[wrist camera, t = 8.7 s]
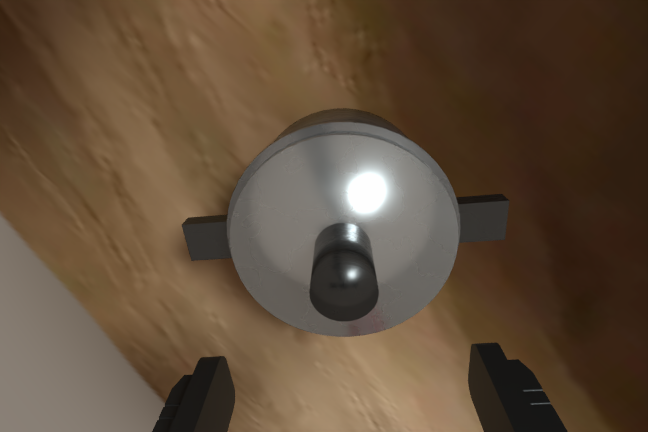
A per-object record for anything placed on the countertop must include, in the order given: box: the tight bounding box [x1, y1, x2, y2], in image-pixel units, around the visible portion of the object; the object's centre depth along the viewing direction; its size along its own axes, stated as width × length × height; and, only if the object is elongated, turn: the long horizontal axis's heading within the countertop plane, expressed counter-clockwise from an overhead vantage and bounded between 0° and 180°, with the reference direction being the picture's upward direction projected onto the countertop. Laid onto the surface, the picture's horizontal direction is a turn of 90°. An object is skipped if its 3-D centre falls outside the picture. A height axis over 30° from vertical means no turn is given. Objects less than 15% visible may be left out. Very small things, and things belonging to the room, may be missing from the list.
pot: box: [182, 108, 509, 261], centre depth 24 cm, size 13×18×7 cm
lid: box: [230, 131, 458, 337], centre depth 19 cm, size 12×12×5 cm
